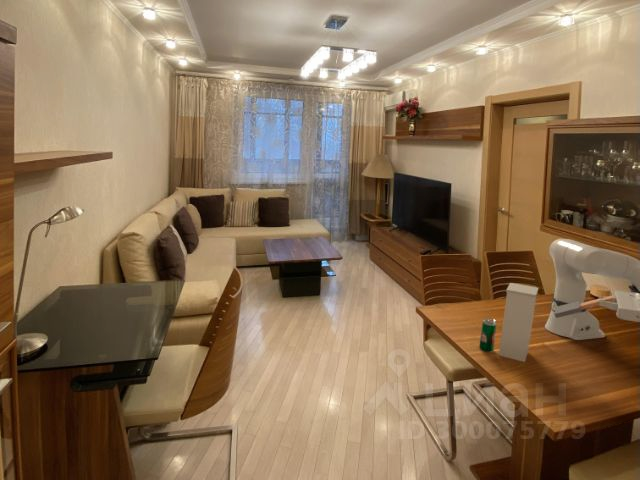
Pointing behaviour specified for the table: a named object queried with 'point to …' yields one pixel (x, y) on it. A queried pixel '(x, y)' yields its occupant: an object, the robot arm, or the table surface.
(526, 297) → the tall grey box
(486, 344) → the soda can
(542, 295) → the table surface
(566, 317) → the robot arm
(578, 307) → the toy hammer
